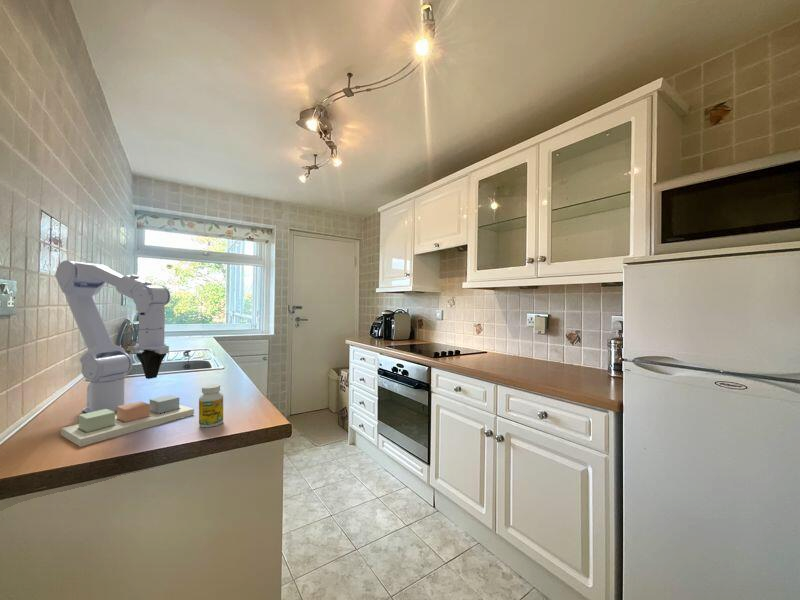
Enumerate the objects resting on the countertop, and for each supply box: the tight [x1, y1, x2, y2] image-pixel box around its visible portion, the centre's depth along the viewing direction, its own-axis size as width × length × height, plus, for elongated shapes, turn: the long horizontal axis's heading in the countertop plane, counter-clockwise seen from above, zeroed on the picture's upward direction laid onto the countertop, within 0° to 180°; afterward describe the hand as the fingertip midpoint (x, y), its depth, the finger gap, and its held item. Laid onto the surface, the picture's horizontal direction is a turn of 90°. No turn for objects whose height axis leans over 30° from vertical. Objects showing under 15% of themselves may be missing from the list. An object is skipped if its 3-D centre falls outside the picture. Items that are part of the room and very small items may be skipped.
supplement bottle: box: [198, 384, 224, 428], centre depth 82 cm, size 5×5×10 cm
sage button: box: [78, 409, 116, 433], centre depth 76 cm, size 5×5×3 cm
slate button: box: [149, 394, 180, 415], centre depth 88 cm, size 5×5×3 cm
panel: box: [60, 403, 195, 448], centre depth 82 cm, size 12×23×2 cm, turn 150°
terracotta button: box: [116, 400, 150, 423], centre depth 82 cm, size 5×5×3 cm
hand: (151, 378), depth 89 cm, fingers closed
